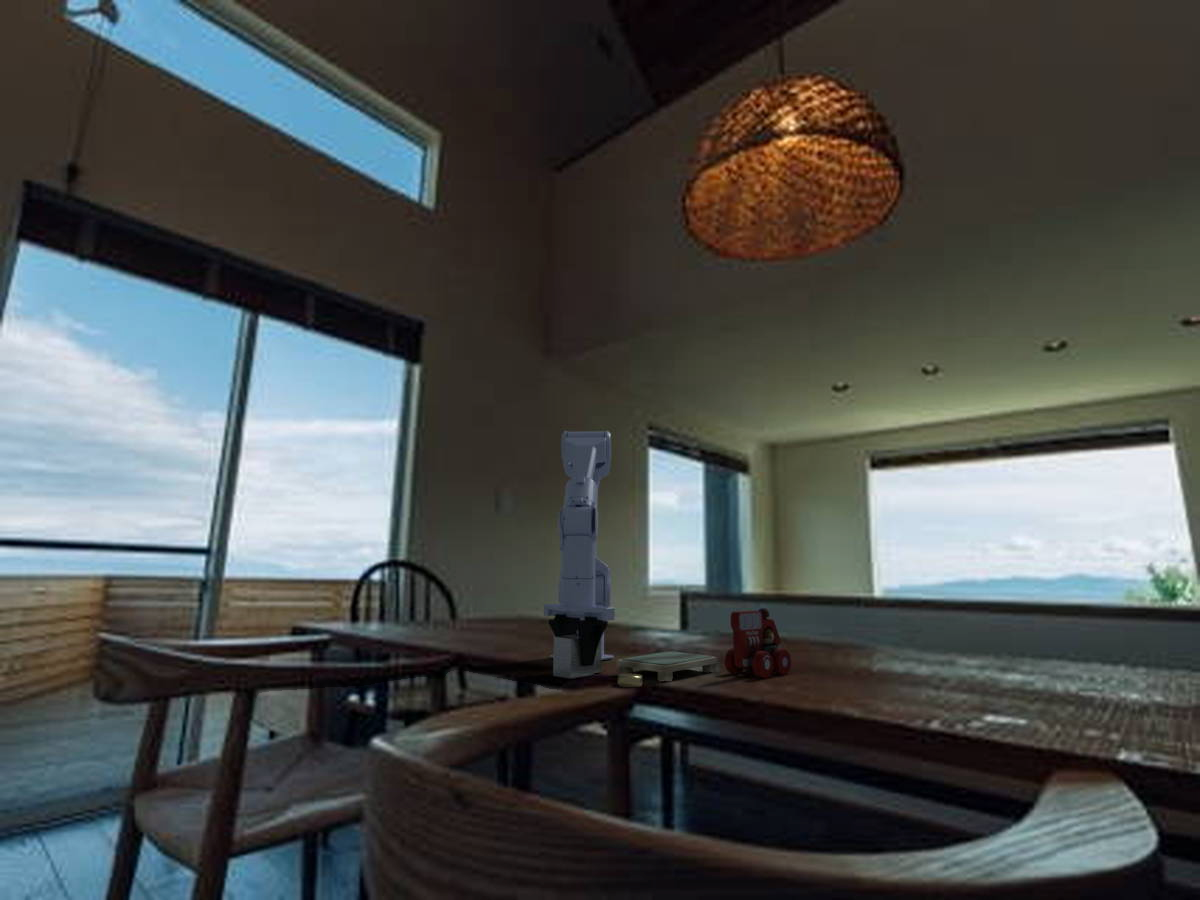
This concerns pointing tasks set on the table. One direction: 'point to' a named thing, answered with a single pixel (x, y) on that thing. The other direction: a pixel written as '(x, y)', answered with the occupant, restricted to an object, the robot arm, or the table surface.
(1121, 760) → the table surface
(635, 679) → the brass nut
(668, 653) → the stand
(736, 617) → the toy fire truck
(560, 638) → the housing
